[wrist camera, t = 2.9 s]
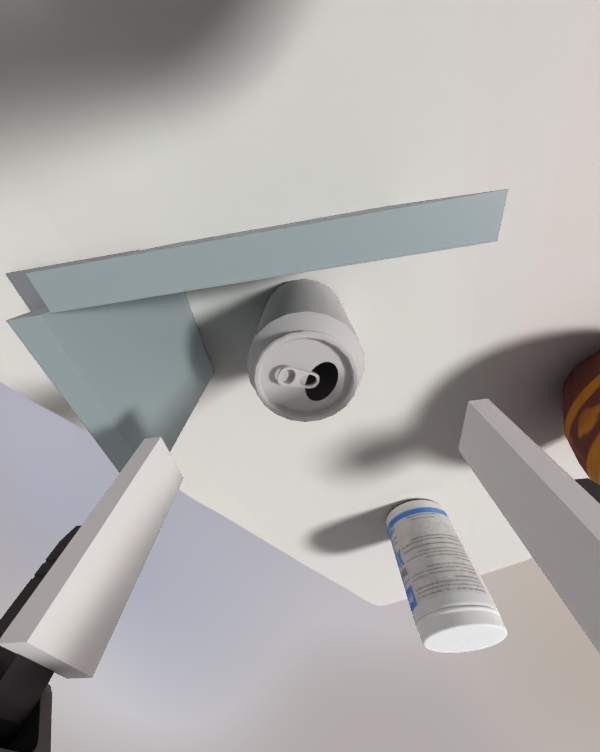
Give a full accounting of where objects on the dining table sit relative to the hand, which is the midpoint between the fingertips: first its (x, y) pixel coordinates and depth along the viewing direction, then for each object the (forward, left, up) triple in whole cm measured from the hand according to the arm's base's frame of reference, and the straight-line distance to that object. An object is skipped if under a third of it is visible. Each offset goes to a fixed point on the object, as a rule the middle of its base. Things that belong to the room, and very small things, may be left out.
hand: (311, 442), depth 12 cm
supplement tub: (+35, +13, -17) cm, 41 cm away
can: (0, 0, -17) cm, 17 cm away
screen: (-2, -2, -16) cm, 17 cm away
